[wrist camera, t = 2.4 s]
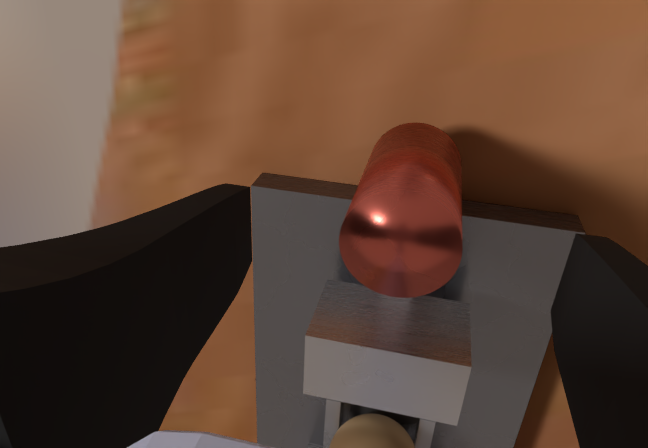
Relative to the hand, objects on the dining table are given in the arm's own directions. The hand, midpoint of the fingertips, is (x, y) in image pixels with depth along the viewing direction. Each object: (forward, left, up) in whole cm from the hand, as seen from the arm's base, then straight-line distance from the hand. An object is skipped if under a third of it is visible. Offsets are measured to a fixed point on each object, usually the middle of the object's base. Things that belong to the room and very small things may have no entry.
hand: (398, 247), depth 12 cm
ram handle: (-3, 0, -5) cm, 6 cm away
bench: (-10, 0, -7) cm, 12 cm away
